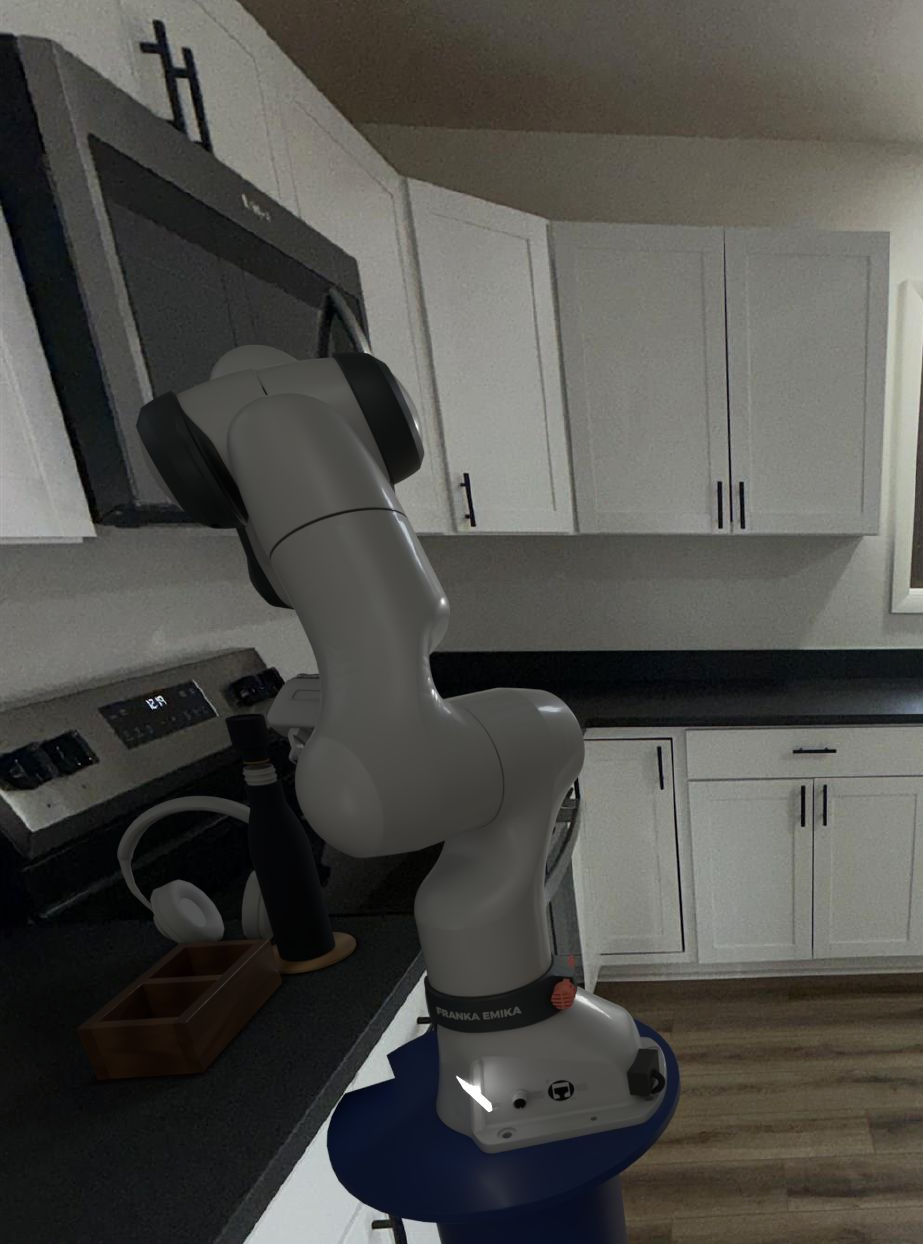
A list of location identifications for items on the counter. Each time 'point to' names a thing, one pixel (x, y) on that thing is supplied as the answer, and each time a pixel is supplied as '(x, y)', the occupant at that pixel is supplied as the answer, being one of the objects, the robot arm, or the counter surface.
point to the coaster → (341, 950)
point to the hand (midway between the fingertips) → (329, 763)
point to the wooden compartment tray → (181, 1010)
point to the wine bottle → (280, 851)
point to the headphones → (183, 904)
